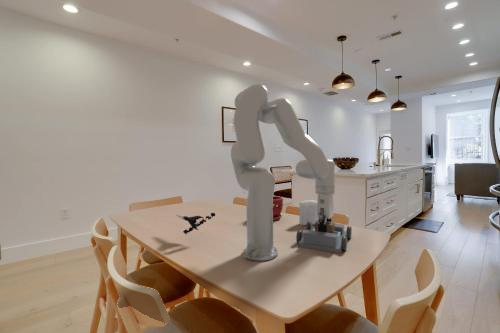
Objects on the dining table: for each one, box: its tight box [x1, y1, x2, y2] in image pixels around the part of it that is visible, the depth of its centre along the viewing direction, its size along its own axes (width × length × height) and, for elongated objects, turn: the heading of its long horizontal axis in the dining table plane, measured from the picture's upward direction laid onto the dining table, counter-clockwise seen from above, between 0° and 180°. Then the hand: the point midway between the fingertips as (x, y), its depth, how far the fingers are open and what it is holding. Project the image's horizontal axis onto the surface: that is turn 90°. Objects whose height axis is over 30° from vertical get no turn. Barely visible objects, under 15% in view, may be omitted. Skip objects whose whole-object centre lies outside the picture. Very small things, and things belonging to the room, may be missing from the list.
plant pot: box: [273, 195, 284, 221], centre depth 137 cm, size 13×13×12 cm
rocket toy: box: [174, 212, 216, 235], centre depth 109 cm, size 14×6×23 cm
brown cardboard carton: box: [315, 220, 335, 234], centre depth 102 cm, size 4×7×6 cm, turn 61°
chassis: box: [295, 221, 353, 254], centre depth 102 cm, size 22×18×6 cm
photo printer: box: [298, 199, 319, 226], centre depth 125 cm, size 10×4×12 cm, turn 98°
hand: (325, 230), depth 102 cm, fingers open, 9 cm apart
